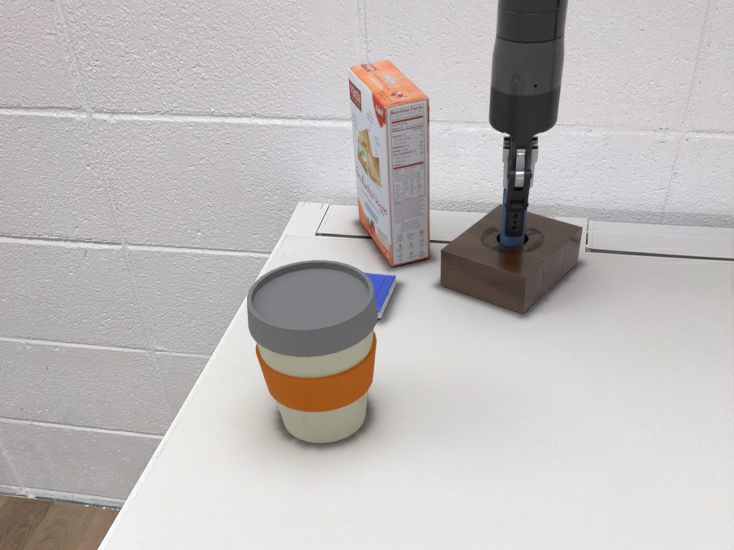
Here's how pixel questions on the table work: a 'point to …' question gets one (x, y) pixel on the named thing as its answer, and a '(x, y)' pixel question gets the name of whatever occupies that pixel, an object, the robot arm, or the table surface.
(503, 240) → the peg
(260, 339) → the reusable coffee cup
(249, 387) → the table surface
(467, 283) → the walnut block
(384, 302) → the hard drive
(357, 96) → the cracker box
